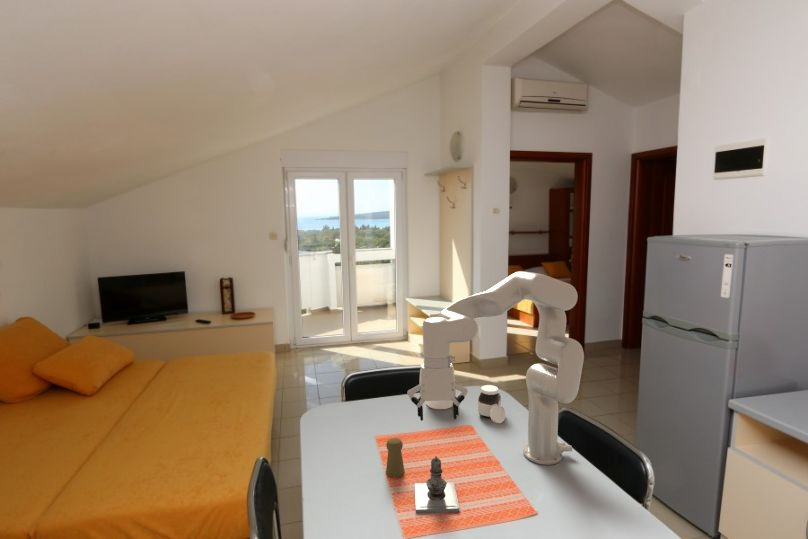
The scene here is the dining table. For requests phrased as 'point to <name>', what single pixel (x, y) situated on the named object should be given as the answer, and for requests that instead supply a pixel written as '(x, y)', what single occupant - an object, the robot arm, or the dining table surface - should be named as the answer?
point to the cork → (394, 458)
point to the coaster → (429, 505)
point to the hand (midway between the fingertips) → (438, 417)
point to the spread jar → (491, 404)
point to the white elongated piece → (440, 404)
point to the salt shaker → (436, 481)
